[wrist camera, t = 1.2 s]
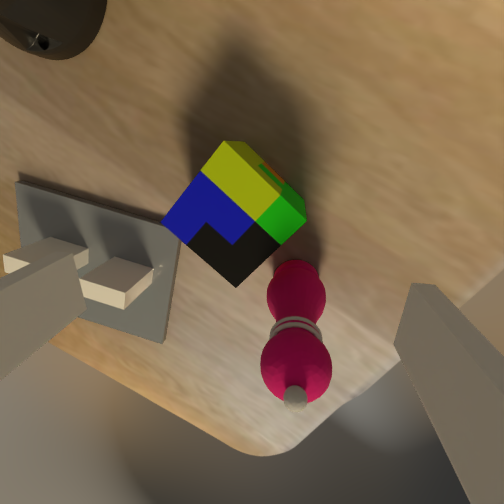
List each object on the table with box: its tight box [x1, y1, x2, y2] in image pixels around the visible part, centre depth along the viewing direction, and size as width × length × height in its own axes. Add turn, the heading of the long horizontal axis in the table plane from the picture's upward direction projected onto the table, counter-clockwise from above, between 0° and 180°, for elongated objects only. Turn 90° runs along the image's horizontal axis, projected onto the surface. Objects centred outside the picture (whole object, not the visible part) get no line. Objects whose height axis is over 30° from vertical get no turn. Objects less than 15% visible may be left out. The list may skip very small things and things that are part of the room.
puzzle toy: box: [160, 141, 307, 288], centre depth 30 cm, size 10×10×10 cm
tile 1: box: [79, 257, 153, 310], centre depth 36 cm, size 6×3×7 cm, turn 76°
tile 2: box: [3, 237, 89, 274], centre depth 37 cm, size 6×3×7 cm, turn 76°
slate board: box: [15, 181, 181, 344], centre depth 41 cm, size 24×20×1 cm
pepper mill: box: [260, 260, 332, 413], centre depth 28 cm, size 7×7×20 cm
